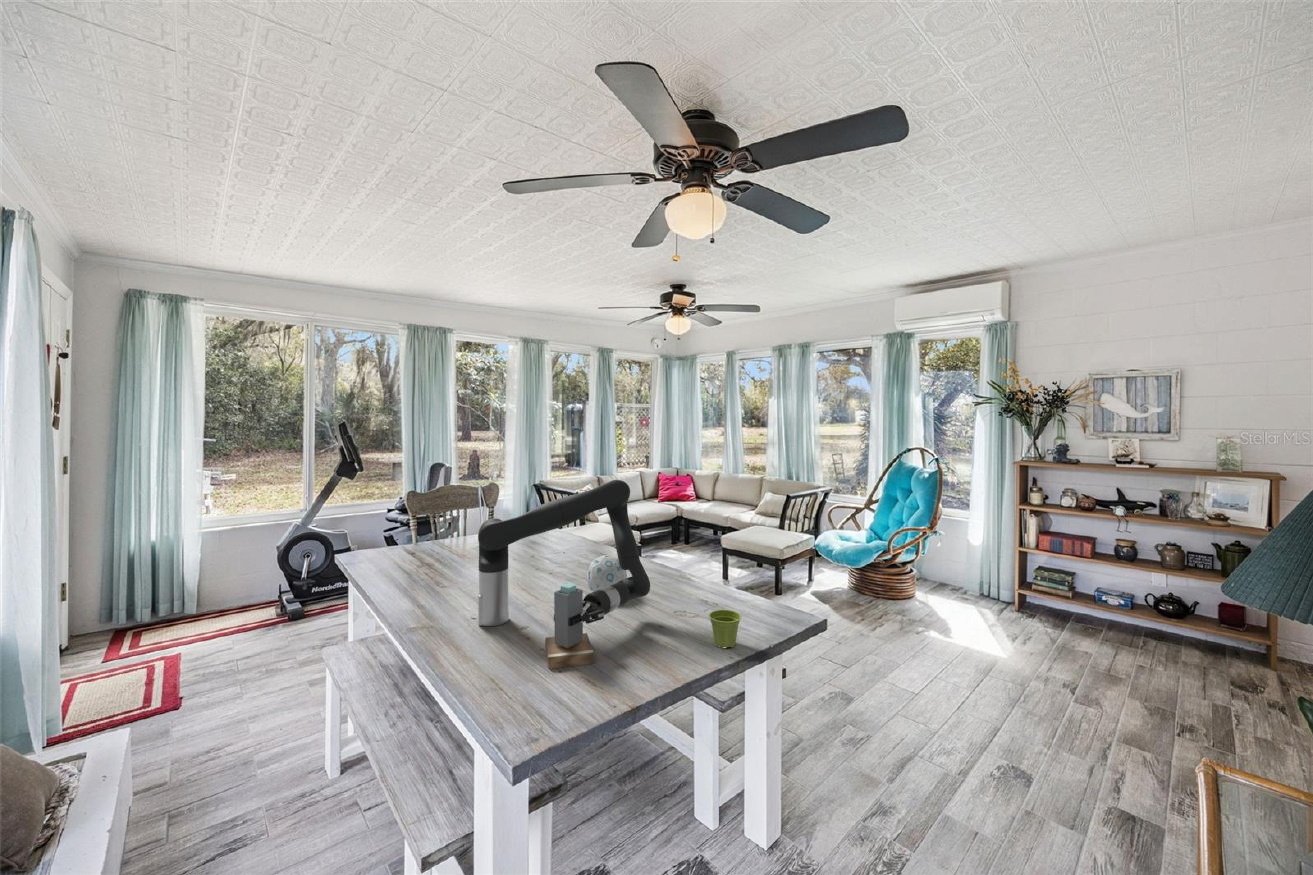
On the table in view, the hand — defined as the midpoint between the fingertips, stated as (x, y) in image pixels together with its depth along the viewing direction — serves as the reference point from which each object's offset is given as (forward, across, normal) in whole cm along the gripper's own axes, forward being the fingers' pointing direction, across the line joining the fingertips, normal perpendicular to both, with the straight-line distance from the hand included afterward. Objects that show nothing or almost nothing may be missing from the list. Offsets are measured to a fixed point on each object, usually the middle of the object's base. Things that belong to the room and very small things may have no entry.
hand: (562, 620), depth 141 cm
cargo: (-3, 0, -6) cm, 7 cm away
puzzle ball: (-47, -23, +11) cm, 53 cm away
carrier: (-3, 0, +7) cm, 7 cm away
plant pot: (-34, +33, +11) cm, 48 cm away
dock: (-3, 0, +11) cm, 11 cm away
